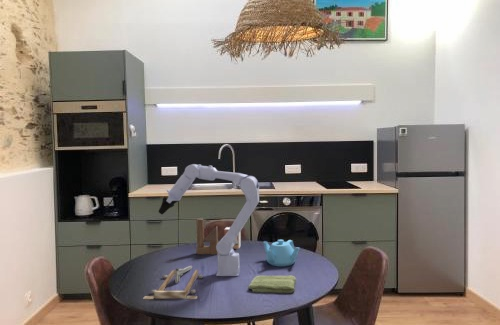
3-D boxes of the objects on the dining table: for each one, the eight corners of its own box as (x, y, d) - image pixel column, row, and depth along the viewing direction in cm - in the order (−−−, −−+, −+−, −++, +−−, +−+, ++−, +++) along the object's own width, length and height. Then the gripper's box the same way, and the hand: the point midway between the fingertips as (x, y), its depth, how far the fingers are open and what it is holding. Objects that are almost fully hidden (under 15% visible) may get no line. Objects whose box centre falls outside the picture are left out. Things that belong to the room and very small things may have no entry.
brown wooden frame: (217, 254, 192) (216, 219, 191) (196, 254, 193) (195, 219, 192) (218, 252, 195) (217, 218, 194) (198, 252, 196) (197, 218, 195)
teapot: (300, 267, 170) (300, 243, 170) (267, 269, 169) (267, 245, 168) (293, 257, 185) (293, 235, 185) (263, 258, 184) (262, 236, 184)
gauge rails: (208, 273, 165) (208, 267, 165) (196, 299, 138) (196, 292, 138) (162, 273, 166) (162, 268, 166) (142, 299, 139) (142, 292, 139)
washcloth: (253, 280, 157) (253, 272, 156) (296, 282, 153) (296, 274, 153) (248, 293, 144) (247, 284, 143) (294, 295, 141) (294, 286, 140)
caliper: (177, 284, 153) (177, 269, 153) (175, 284, 153) (174, 269, 153) (192, 267, 173) (192, 254, 173) (190, 267, 174) (190, 254, 173)
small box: (224, 248, 202) (223, 229, 202) (226, 245, 208) (226, 226, 207) (239, 249, 201) (238, 229, 200) (241, 246, 206) (240, 227, 206)
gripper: (177, 178, 173) (160, 201, 175) (168, 184, 158) (150, 209, 160) (190, 188, 173) (172, 210, 175) (182, 195, 159) (163, 219, 161)
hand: (162, 210), depth 168 cm, fingers open, 7 cm apart
